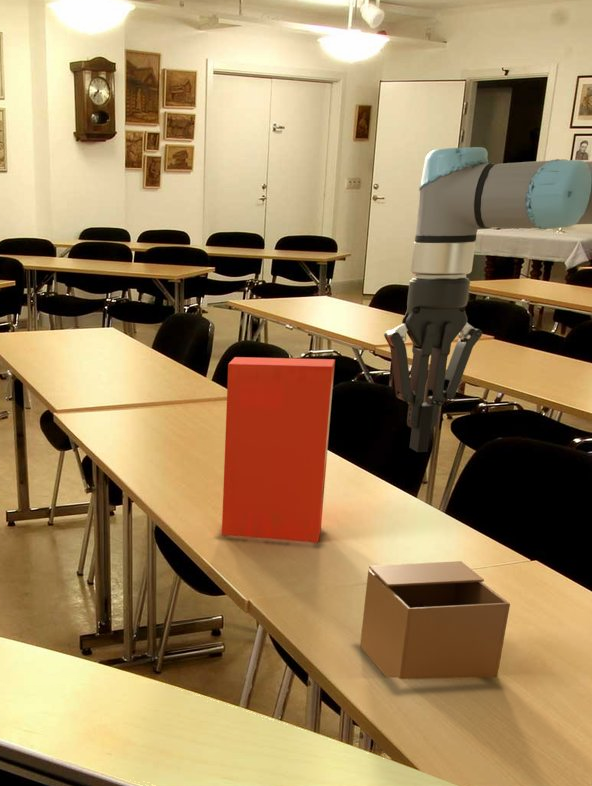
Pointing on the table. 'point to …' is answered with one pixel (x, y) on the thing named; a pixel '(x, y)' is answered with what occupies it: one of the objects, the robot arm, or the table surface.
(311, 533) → the red rectangular block
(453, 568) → the flap
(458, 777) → the table surface
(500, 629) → the carton
